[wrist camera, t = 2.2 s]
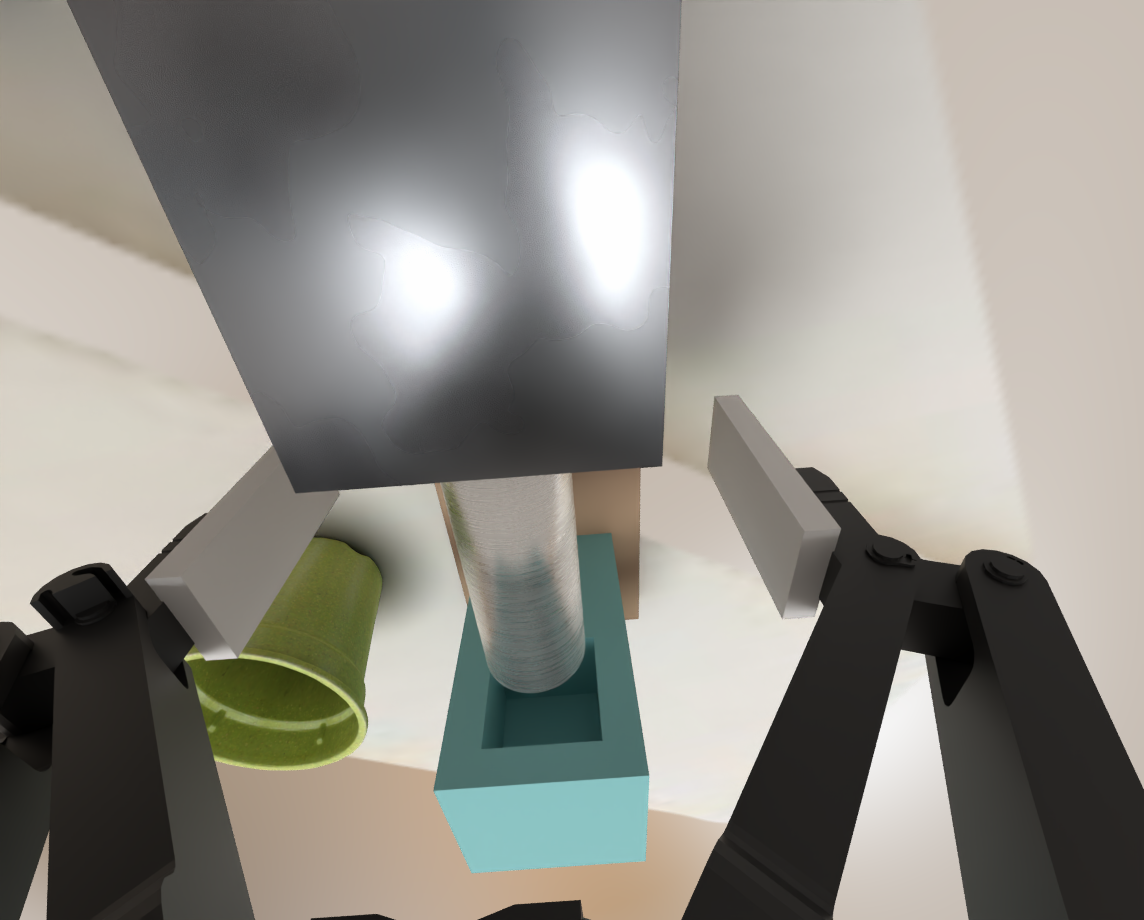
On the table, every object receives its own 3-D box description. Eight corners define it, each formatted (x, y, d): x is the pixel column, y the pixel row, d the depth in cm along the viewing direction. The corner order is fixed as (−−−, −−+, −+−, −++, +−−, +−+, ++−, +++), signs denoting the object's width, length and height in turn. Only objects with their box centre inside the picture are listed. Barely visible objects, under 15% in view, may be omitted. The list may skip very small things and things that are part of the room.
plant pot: (425, 623, 31) (386, 768, 24) (277, 629, 31) (192, 777, 24) (393, 509, 26) (332, 648, 19) (217, 515, 26) (85, 658, 19)
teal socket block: (479, 542, 26) (433, 790, 16) (611, 532, 26) (649, 775, 16) (498, 628, 29) (471, 873, 19) (613, 620, 29) (645, 861, 19)
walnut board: (348, 103, 17) (331, 99, 15) (638, 80, 17) (645, 74, 15) (477, 611, 31) (474, 630, 29) (634, 599, 31) (638, 618, 29)
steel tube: (356, 23, 9) (267, -36, 6) (536, 9, 9) (528, -55, 6) (491, 610, 19) (480, 697, 16) (582, 603, 19) (588, 689, 16)
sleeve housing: (378, 95, 15) (65, -6, 5) (598, 78, 15) (683, -56, 5) (428, 315, 19) (295, 493, 9) (604, 302, 19) (662, 466, 9)
